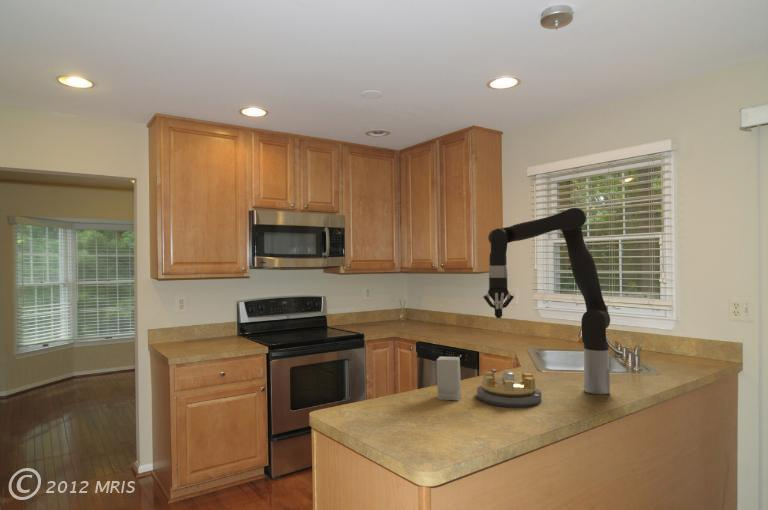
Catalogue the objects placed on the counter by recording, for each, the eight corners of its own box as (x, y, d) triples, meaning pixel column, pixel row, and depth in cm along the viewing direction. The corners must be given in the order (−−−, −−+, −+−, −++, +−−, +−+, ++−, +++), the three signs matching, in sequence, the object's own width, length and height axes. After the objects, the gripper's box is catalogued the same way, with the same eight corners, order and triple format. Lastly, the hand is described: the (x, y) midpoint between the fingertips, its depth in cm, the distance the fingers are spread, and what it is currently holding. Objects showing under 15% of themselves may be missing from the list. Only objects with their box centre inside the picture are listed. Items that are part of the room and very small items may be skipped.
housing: (541, 392, 200) (541, 384, 200) (541, 410, 177) (541, 401, 177) (480, 388, 207) (480, 380, 207) (473, 404, 184) (472, 395, 184)
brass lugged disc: (498, 381, 206) (498, 365, 206) (544, 389, 193) (544, 372, 193) (472, 390, 191) (472, 373, 191) (520, 400, 178) (520, 382, 178)
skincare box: (461, 396, 195) (461, 356, 195) (458, 401, 188) (457, 360, 189) (440, 395, 197) (440, 355, 198) (436, 399, 191) (436, 358, 191)
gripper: (511, 276, 213) (511, 316, 213) (480, 276, 213) (480, 317, 212) (516, 276, 206) (516, 318, 205) (484, 276, 205) (484, 319, 205)
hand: (498, 317), depth 209 cm, fingers closed
